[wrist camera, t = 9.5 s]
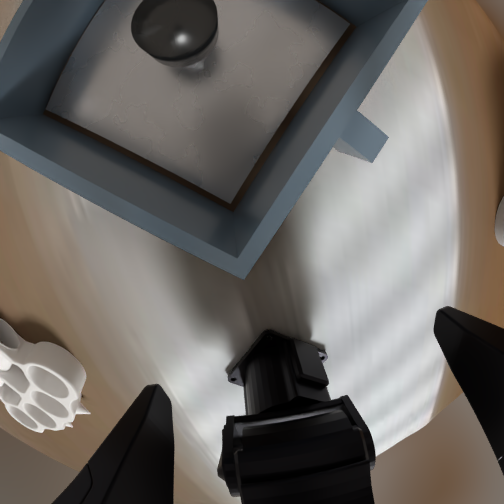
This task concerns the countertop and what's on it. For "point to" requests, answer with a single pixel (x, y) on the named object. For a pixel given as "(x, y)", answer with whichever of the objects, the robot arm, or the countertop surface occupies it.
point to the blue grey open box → (164, 188)
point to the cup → (500, 223)
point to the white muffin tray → (39, 382)
